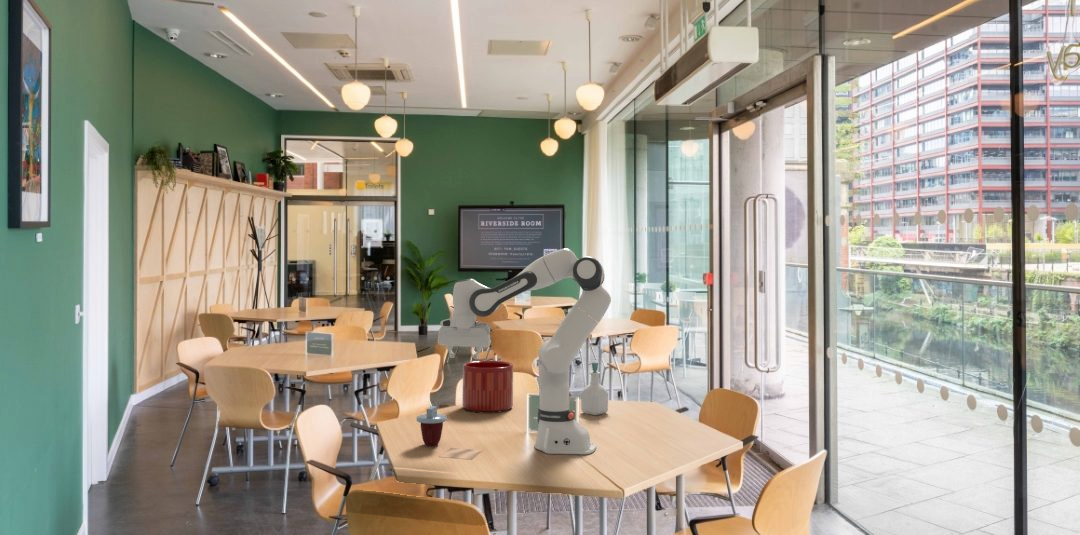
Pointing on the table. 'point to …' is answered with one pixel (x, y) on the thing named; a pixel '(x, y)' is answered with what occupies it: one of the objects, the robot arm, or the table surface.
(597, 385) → the soap bottle
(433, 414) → the lid
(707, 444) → the table surface
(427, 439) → the mug
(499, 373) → the planter
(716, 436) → the table surface
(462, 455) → the mat
